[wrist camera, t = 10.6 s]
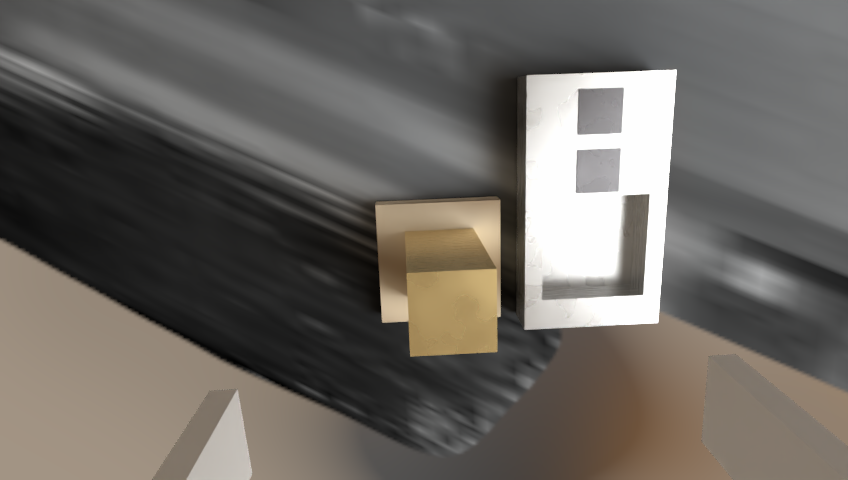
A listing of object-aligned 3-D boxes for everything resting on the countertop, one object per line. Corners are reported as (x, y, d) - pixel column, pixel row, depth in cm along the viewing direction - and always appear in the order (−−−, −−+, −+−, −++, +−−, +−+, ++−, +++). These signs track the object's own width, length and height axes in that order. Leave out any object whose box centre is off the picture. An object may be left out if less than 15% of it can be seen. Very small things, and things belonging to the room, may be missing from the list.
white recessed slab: (517, 77, 39) (527, 75, 36) (656, 72, 40) (677, 69, 37) (516, 314, 44) (524, 330, 41) (641, 308, 44) (658, 323, 41)
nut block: (404, 231, 40) (406, 272, 30) (473, 228, 40) (496, 268, 31) (407, 296, 41) (410, 356, 32) (474, 293, 41) (497, 352, 32)
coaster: (376, 201, 41) (375, 205, 40) (496, 196, 41) (500, 199, 40) (382, 315, 43) (382, 322, 42) (497, 309, 43) (500, 316, 42)
